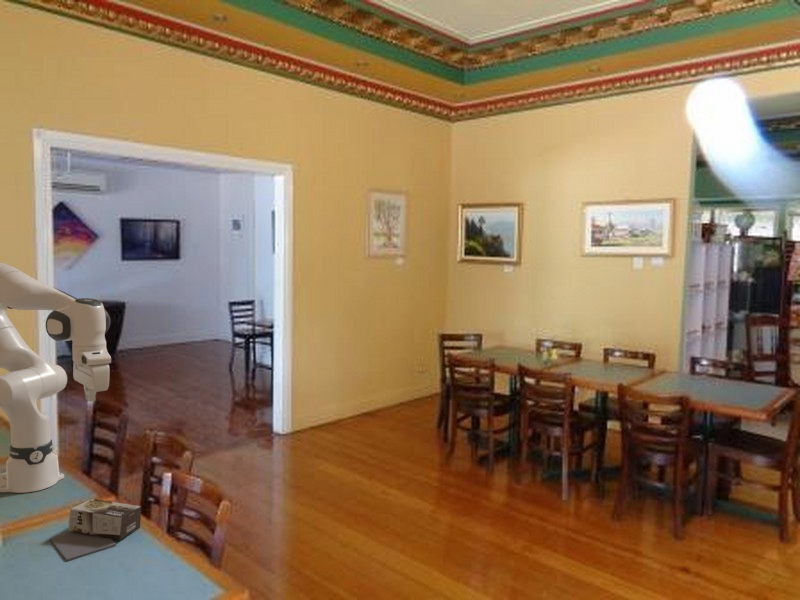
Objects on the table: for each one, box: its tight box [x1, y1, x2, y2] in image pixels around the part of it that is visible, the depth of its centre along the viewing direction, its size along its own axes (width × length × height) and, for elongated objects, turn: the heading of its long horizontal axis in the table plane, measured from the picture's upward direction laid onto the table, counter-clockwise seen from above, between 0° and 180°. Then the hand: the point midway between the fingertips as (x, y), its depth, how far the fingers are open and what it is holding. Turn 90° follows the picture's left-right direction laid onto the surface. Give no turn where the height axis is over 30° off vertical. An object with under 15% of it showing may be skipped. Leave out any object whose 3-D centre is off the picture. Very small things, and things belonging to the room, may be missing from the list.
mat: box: [49, 531, 117, 562], centre depth 161 cm, size 15×12×1 cm
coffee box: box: [68, 498, 142, 541], centre depth 167 cm, size 9×6×16 cm
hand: (90, 400), depth 175 cm, fingers closed
